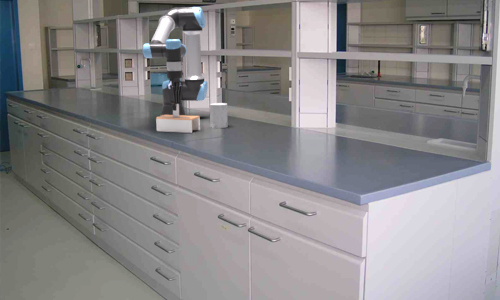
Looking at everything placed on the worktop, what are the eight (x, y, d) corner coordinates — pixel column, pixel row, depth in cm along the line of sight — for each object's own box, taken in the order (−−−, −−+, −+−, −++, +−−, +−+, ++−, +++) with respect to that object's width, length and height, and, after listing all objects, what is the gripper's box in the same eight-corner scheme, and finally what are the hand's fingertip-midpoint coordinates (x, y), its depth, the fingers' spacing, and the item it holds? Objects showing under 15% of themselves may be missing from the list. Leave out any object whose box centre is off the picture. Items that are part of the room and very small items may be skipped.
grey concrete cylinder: (216, 128, 290) (215, 105, 288) (206, 126, 298) (206, 103, 295) (231, 126, 295) (230, 104, 293) (221, 124, 303) (220, 102, 301)
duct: (166, 128, 294) (165, 116, 292) (199, 129, 286) (199, 117, 285) (156, 131, 284) (156, 118, 283) (191, 132, 277) (190, 120, 276)
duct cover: (165, 116, 292) (165, 114, 292) (199, 117, 285) (199, 115, 285) (156, 118, 283) (156, 116, 283) (190, 120, 276) (190, 118, 276)
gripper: (174, 69, 285) (175, 114, 289) (161, 71, 273) (163, 118, 277) (186, 69, 282) (188, 115, 287) (174, 71, 270) (176, 118, 275)
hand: (176, 116), depth 282 cm, fingers closed
